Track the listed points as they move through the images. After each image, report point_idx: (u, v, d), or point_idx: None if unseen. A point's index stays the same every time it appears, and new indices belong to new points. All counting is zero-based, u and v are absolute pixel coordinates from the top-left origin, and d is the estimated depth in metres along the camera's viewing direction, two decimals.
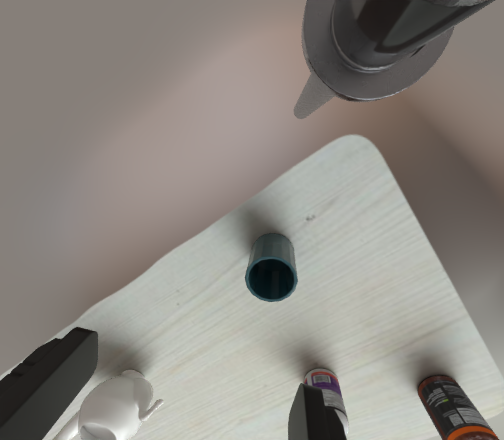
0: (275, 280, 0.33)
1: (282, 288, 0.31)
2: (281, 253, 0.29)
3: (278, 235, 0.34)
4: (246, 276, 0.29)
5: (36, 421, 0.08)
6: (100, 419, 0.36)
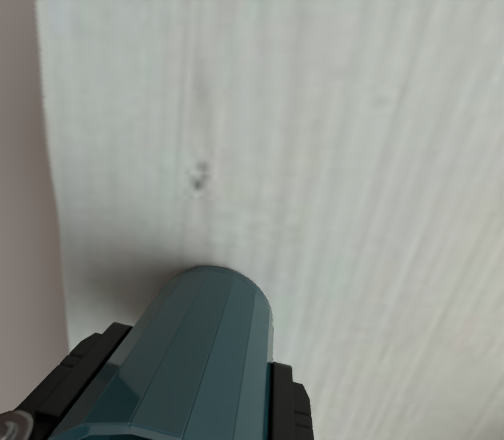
0: None
1: None
2: (112, 378, 0.07)
3: (177, 277, 0.12)
4: None
5: None
6: None
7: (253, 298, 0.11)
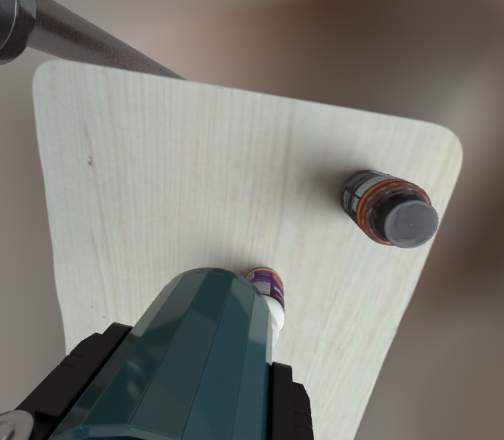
0: None
1: None
2: (111, 380, 0.07)
3: (176, 279, 0.12)
4: None
5: None
6: None
7: (252, 299, 0.11)
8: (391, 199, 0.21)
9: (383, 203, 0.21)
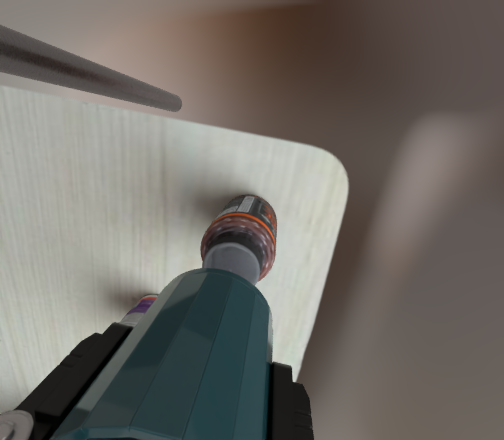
0: None
1: None
2: (111, 381, 0.07)
3: (177, 279, 0.12)
4: None
5: None
6: None
7: (253, 300, 0.11)
8: (219, 237, 0.18)
9: (213, 241, 0.19)
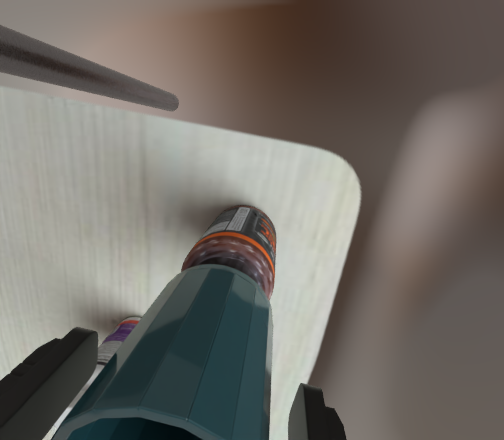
0: None
1: None
2: (120, 367, 0.07)
3: (180, 275, 0.12)
4: None
5: (36, 421, 0.08)
6: None
7: (253, 295, 0.11)
8: None
9: None
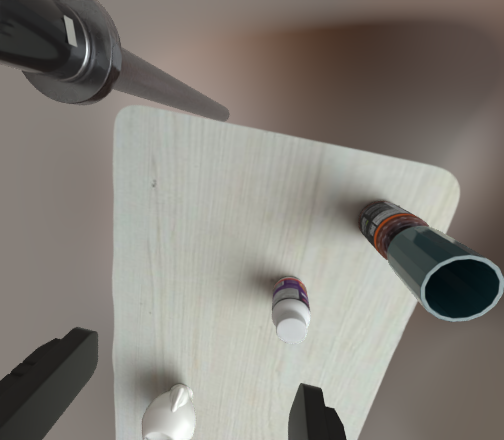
0: (453, 281, 0.24)
1: (478, 287, 0.21)
2: (444, 250, 0.20)
3: (408, 230, 0.25)
4: (426, 307, 0.21)
5: (35, 421, 0.08)
6: (149, 428, 0.43)
7: None
8: (401, 229, 0.28)
9: (395, 232, 0.28)
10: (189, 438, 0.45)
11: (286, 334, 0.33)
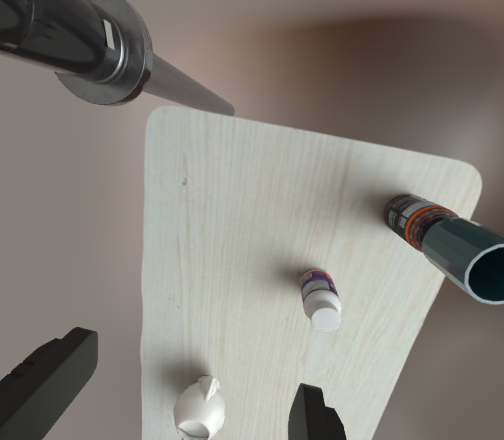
0: (488, 268, 0.26)
1: None
2: (486, 239, 0.22)
3: (444, 221, 0.27)
4: (469, 291, 0.22)
5: (36, 421, 0.08)
6: (183, 417, 0.45)
7: None
8: (434, 221, 0.29)
9: (428, 224, 0.30)
10: (220, 426, 0.47)
11: (321, 323, 0.35)
